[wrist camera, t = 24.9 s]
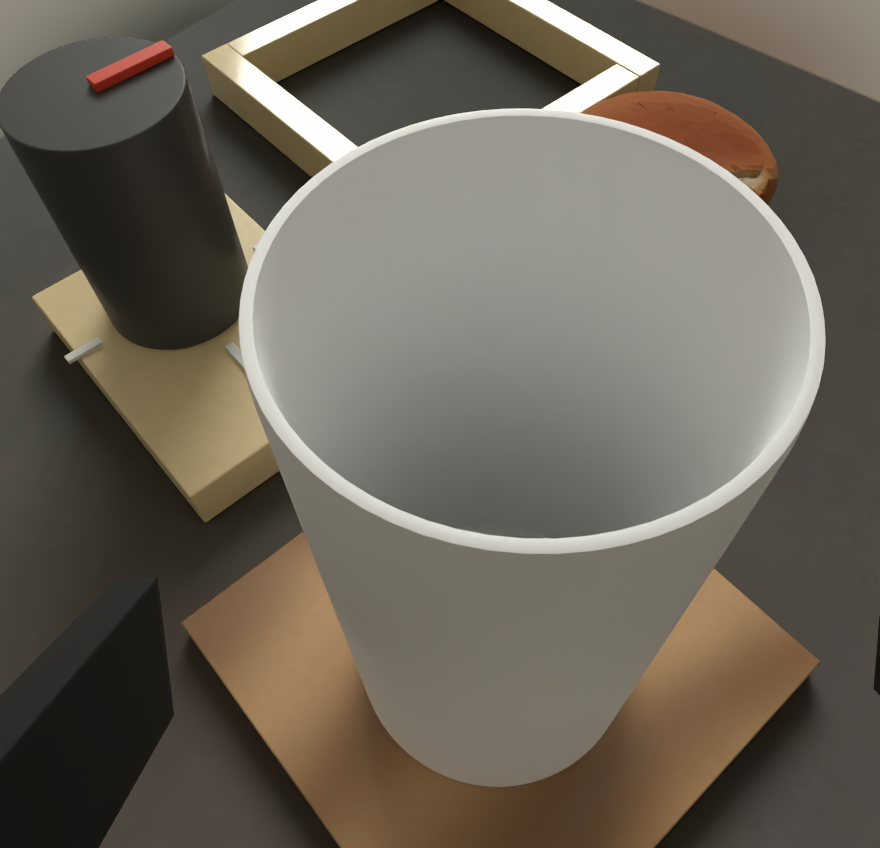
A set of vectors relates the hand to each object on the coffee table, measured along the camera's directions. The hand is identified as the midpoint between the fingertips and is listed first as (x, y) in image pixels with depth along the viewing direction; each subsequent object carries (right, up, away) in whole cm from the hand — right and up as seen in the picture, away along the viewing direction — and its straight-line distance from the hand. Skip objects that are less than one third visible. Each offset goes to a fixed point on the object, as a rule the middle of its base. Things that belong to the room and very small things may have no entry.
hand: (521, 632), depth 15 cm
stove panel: (-10, +7, +18) cm, 22 cm away
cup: (0, -3, +10) cm, 11 cm away
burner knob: (-12, +9, +17) cm, 22 cm away
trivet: (0, -3, +11) cm, 12 cm away
